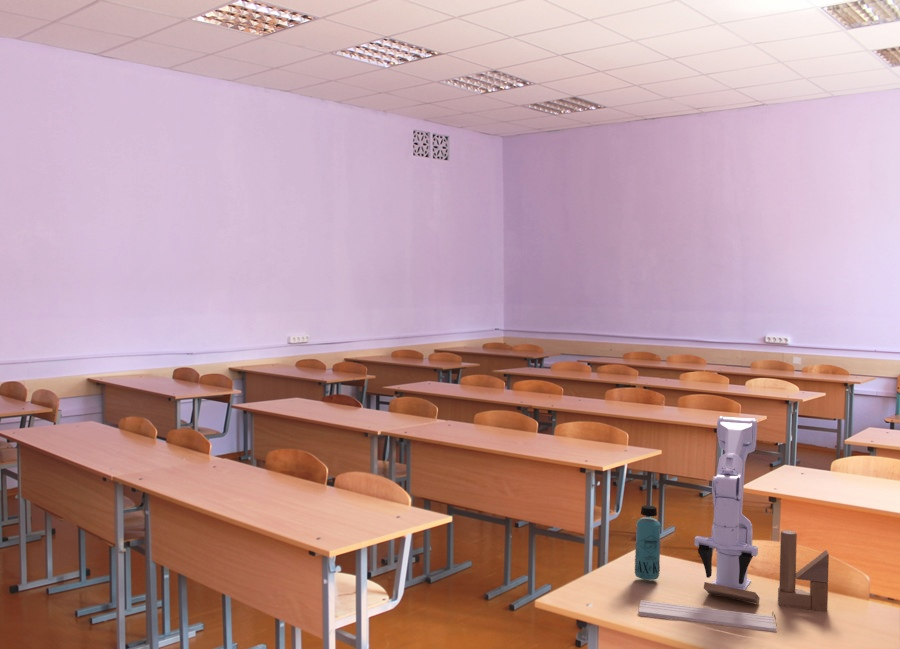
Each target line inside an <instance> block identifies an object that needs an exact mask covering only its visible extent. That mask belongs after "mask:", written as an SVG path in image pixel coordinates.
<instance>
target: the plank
mask: <svg viewBox="0 0 900 649" xmlns="http://www.w3.org/2000/svg"><path fill="white" fill-rule="evenodd" d="M712 583H713V582H712ZM712 583H711V582H705V581H704V584H703V590H705V592H707V593H708V595H714V596H718V597H723V598H727V599H731V600H736V601H737V600H738V601H741V602H747V603H752V604H757V605H759V604H760V596H759V595H758V594H757V593H756V592H755V591H751V590H750V591H749V590H746V589H745V590H741V589H736V588H731V587H727V586H722V585H717V584H712Z"/></svg>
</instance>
